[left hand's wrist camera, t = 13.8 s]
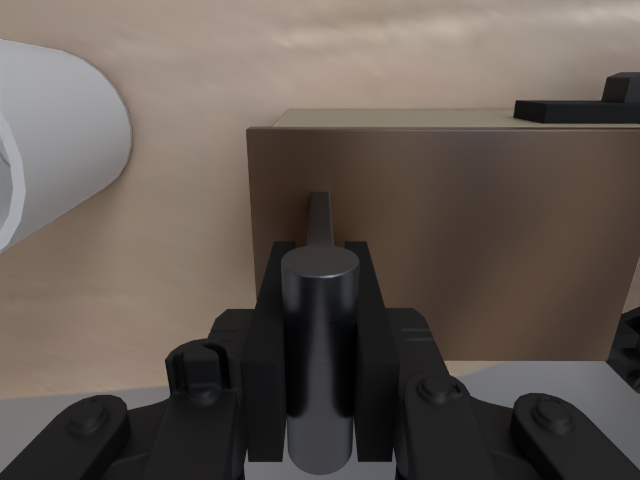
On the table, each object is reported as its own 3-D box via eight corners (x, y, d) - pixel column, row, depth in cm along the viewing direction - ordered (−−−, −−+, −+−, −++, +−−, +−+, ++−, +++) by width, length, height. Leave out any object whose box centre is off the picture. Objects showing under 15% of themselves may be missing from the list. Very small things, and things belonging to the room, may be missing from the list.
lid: (262, 349, 19) (223, 531, 11) (249, 126, 15) (179, 174, 8) (595, 349, 19) (780, 533, 11) (660, 127, 15) (996, 176, 8)
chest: (292, 264, 27) (279, 348, 19) (288, 108, 24) (270, 126, 15) (509, 264, 27) (595, 349, 19) (538, 109, 24) (659, 127, 15)
